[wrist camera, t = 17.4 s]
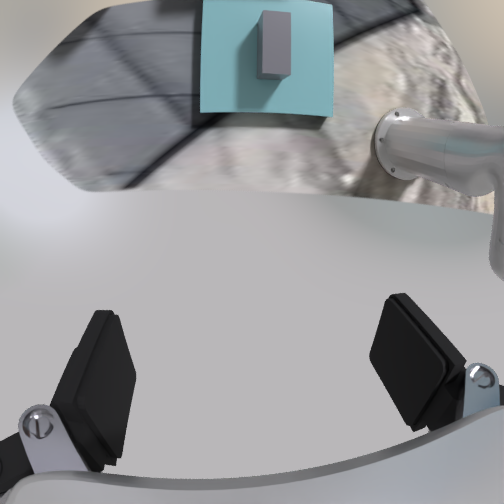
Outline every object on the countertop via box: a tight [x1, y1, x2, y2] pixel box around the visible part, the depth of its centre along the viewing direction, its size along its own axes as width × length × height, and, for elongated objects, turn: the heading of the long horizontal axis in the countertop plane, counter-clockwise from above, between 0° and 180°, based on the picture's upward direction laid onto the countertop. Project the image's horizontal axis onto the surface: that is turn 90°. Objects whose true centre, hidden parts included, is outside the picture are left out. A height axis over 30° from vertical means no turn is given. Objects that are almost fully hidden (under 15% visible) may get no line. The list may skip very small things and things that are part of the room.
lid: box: [200, 0, 334, 117], centre depth 33 cm, size 19×19×7 cm
